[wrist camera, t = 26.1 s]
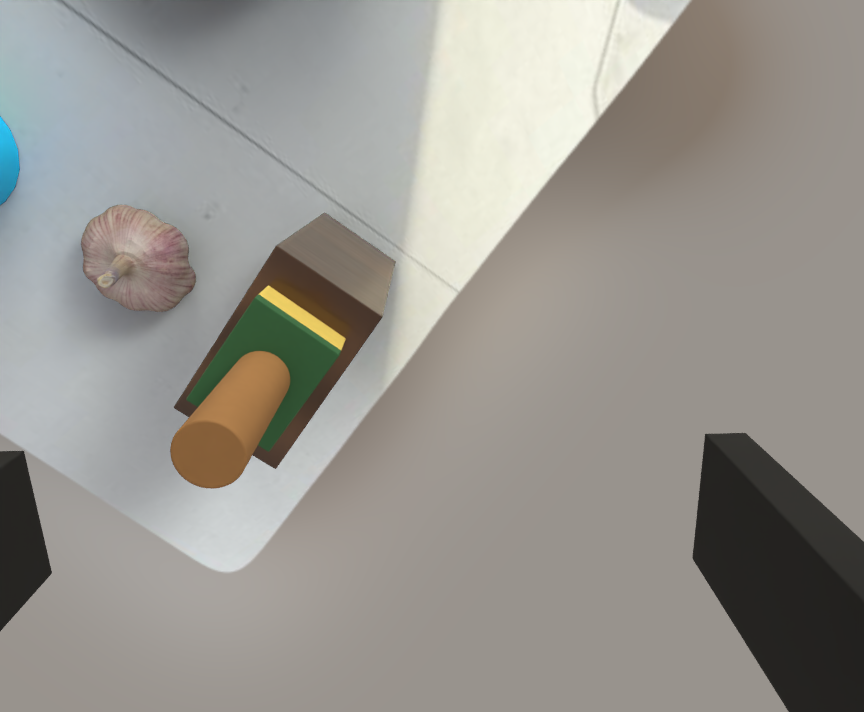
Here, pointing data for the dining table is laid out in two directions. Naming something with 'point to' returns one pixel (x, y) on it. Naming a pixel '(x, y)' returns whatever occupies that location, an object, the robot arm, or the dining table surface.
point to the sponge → (253, 389)
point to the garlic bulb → (137, 259)
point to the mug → (7, 162)
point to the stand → (317, 304)
